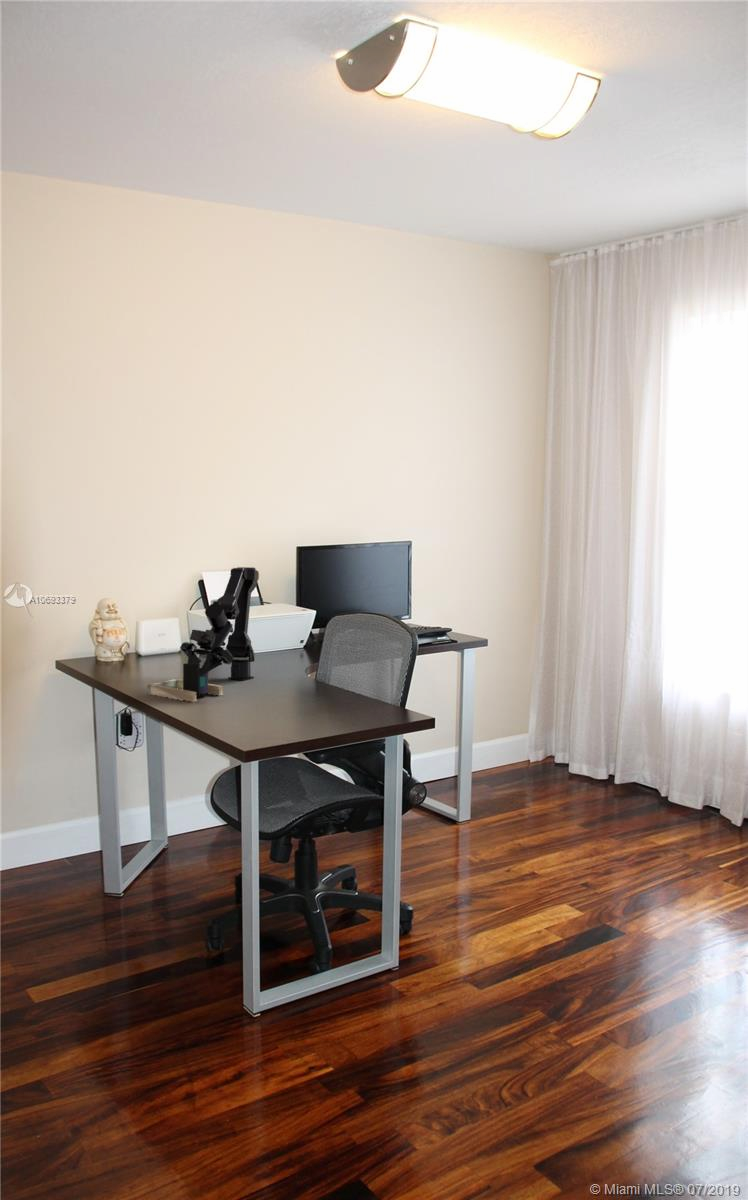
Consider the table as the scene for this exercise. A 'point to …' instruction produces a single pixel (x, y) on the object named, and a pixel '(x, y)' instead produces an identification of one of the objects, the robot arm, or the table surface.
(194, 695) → the channel
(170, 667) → the table surface
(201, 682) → the dark cylinder with backplate
